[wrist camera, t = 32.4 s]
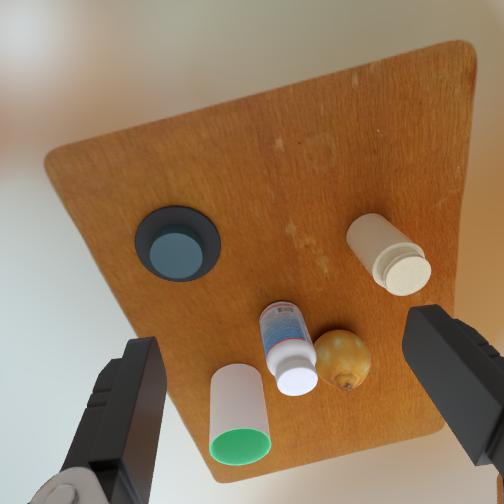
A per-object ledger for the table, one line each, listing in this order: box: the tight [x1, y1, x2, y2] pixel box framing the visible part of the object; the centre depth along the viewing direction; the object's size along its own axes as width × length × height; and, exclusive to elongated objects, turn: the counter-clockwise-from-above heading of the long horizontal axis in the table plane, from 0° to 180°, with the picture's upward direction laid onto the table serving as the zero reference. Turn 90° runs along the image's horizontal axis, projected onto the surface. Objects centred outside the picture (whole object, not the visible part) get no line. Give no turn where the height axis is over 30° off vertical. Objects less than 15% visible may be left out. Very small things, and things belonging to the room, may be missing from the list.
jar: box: [346, 213, 431, 296], centre depth 37 cm, size 6×6×10 cm
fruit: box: [313, 329, 371, 391], centre depth 47 cm, size 8×8×8 cm
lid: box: [150, 225, 204, 278], centre depth 38 cm, size 6×6×2 cm
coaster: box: [135, 206, 221, 282], centre depth 39 cm, size 10×10×1 cm
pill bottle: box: [259, 302, 318, 396], centre depth 41 cm, size 6×6×11 cm
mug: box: [209, 364, 271, 465], centre depth 48 cm, size 12×8×10 cm
